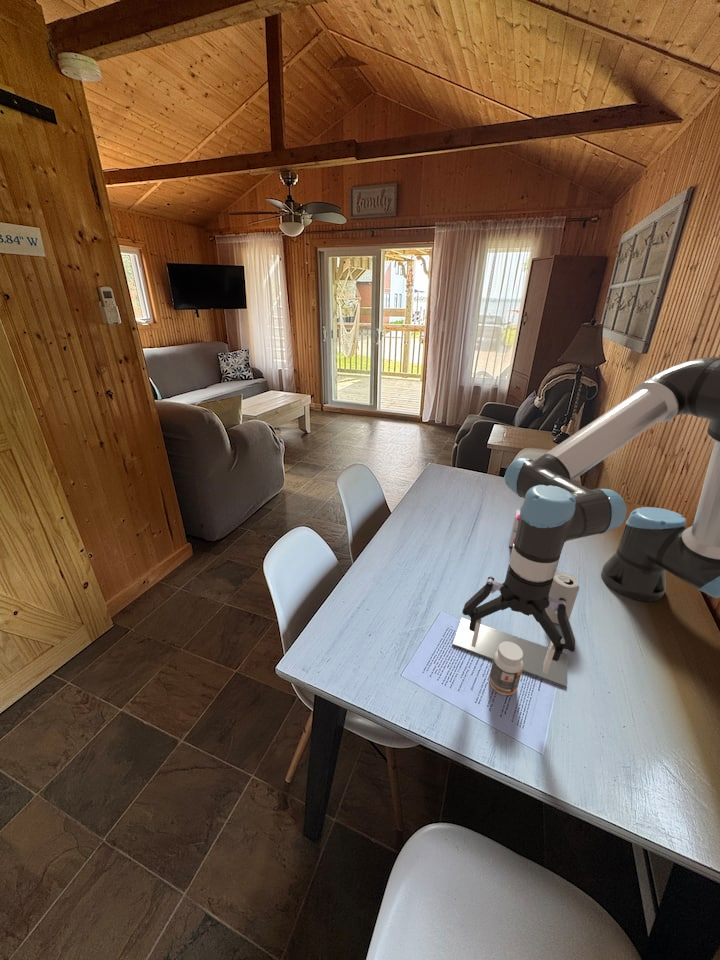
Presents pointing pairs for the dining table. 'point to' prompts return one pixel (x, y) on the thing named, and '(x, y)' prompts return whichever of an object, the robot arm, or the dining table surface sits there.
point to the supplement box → (514, 528)
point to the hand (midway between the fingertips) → (508, 654)
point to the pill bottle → (506, 668)
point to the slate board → (531, 651)
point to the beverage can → (563, 593)
